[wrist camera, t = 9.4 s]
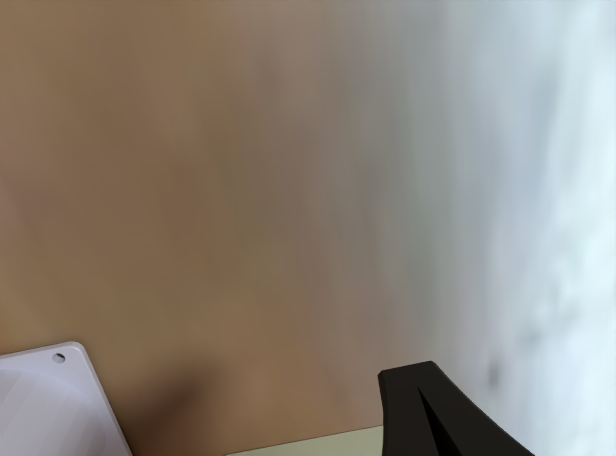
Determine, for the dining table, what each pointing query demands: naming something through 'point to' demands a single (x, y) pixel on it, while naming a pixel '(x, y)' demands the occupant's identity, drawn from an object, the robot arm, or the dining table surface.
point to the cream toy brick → (328, 445)
